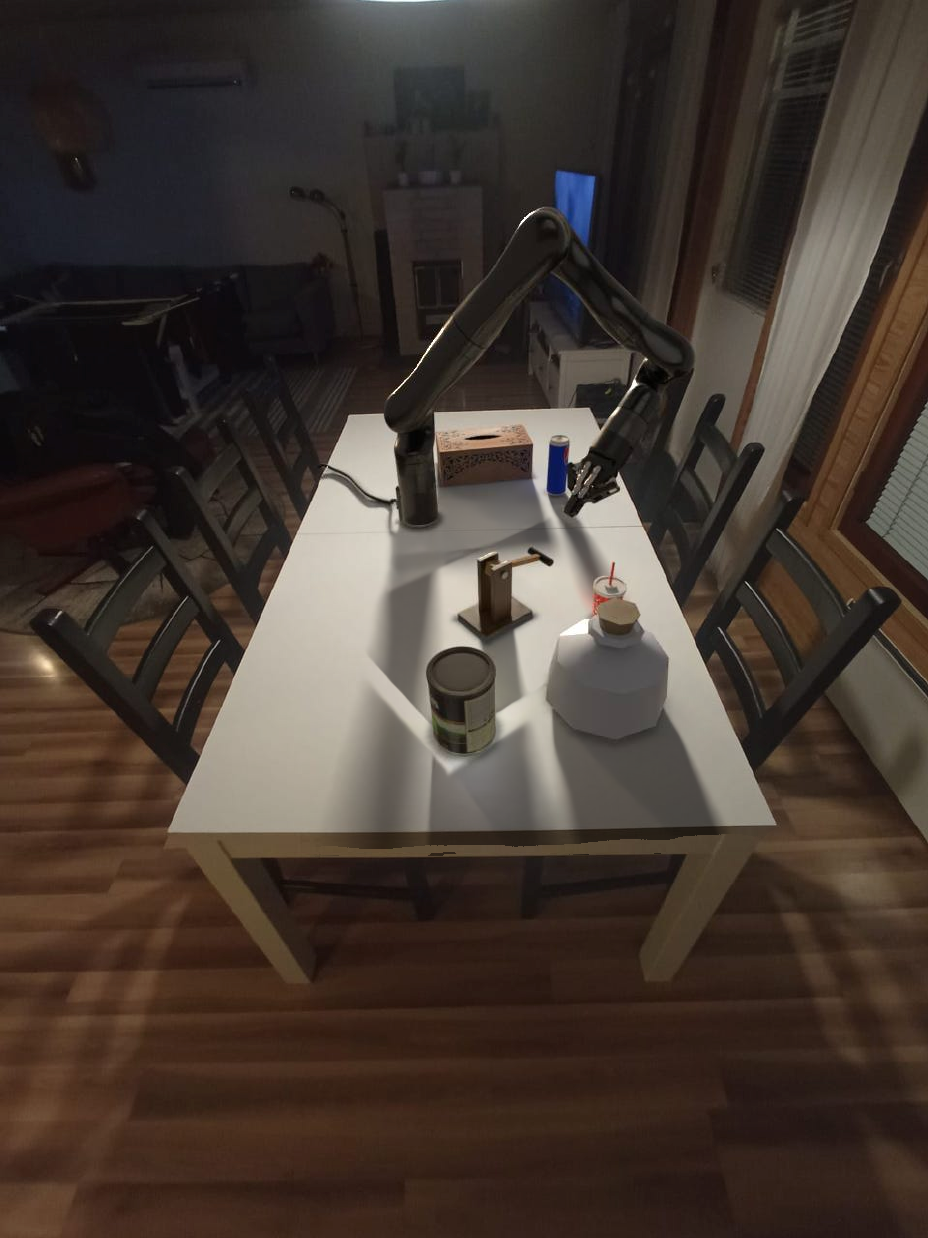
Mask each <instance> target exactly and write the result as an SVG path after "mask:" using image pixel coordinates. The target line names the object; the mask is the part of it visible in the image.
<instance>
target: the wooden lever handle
mask: <svg viewBox="0 0 928 1238" xmlns="http://www.w3.org/2000/svg"><path fill="white" fill-rule="evenodd" d="M527 554H528V555H527V556H523V557H518V558H514V559H511V560H510V561H512V569H513V568H516V567H520V566H524V565H528V564H531V563H535V562H536V563H537V562H541V563H542V564H544V565H546V566H547V567H551V566H553V564H554V559H552V558H551V557H549V556H547V555H546V554H544V553H543V552H541V551H540V550H538V549H537V548H535V547H533V546H530V547H529V548H528V549H527ZM503 562H504V561H502V560H500V559H499V558H498V559H495V560H491V561H487V562H486V567H485V574H487V575H488V576H490V577H491V568H493V567H495V566H497V565H499V564H501V563H503Z"/></svg>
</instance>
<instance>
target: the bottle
mask: <svg viewBox="0 0 928 1238" xmlns="http://www.w3.org/2000/svg"><path fill="white" fill-rule="evenodd" d="M597 611H598V614H597V615H595V616H594V617H593V616H592V617H591V618H587V619H581V620H580V621H579V622H578V623H575V624H574V625H573V626H571V627H569V628H568V629H567V630H565V631H564V632H562V633H560V634H559V635H558V637H557V640H556V644H555V647H554V651H553V654H552V658H551V660H550V663H549V667H548V671H547V682H546V683H547V684H546V693H545V701H546V702H547V704H549V705H550V707H552V708H553V710H555V711H556V713H557V714H558V715H559V716H560V717H561V718H562V719H563V720H564V721H565V722H566V724H568V726H569V727H570V728H571V729H573V730H575V731H578V732H582V733H585V734H590V735H595V736H598V737H602V738H607V739H610V740H619V739H622V738H625V737H628V736H631V735H633V734H636V733H640V732H642V731H645V730H648V729H651V728H654V727H656V726H657V723H658V721H659V718H660V715H661V713H662V710H663V708H664V706H665V703H666V700H667V698H668V686H669V685H668V683H669V663H670V657H669V656H668V654H667V652H666V651H665V650H664V648H663V646H662V645H661V644H660V642H659V641H658V639H657V638H656V636H655V635H654V633H653V632H652V631H649V630H647V629H644V628H643V626H642V625H641V623H640V621H639V619H640V617H641V613H640V610H639V608H638V606H637V604H636V603H635V602H632V601H629V600H626V599H623V600H622V599H619V598H613V599H610V600H608V601H606V602H604V603H601V604H599V605H597Z"/></svg>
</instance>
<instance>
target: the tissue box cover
mask: <svg viewBox="0 0 928 1238" xmlns="http://www.w3.org/2000/svg"><path fill="white" fill-rule="evenodd" d="M435 445H436V447H435V448H436V458H437V460H436V461H437V468H438V473H439V479H440V482H441V483H440V484H441V486H442V487H445V486H447V487H448V486H455V485H456V486H458V485H467V484H478V483H489V482H490V483H491V482H500V481H509V480H510V481H511V480H522V479H531V478H533V460H534V459H533V458H534V442H533V441H532V438H531V436H530V435H529V433H528V432H527V429H526V428H525V425H524V423H522V424H521V423H520V424H507V425H498V426H487V427H486V426H485V427H476V428H474V427H473V428H466V429H465V428H464V429H451V430H441V431H439V430H438V431H435Z"/></svg>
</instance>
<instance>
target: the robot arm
mask: <svg viewBox="0 0 928 1238" xmlns="http://www.w3.org/2000/svg"><path fill="white" fill-rule="evenodd" d="M550 273H551V274H552V275H554V276H555V277H557V278H558V279H559V280H561V281H562V282H563V283H564V284H565V285H566V286H568V287H569V289H571V291H572V292H573V293H574V294H575V295H576V296H577V297H578V299H579V300H580V301H581V302H582V304H583V305H584V306H585V308H586V309H587V310H588V312H589V313H590V314H591V316H592V317H593V319H595V321H596V322H597V324H598V325H599V326H600V327H601V328H602V329H603V331H605V332H606V333H607V334H608V335H609V336H610V337H611V338H612V339H613V340H614V341H616V342H617V343H618V345H620V346H621V347H622V348H623V349H624V350H625V351H627V352H629V353H638V354H640V355H642V356H643V357H644V359H643V361H642V362H641V363H640V366H639V367H638V369H637V371H636V374H635V376H634V378H633V380H632V383H631V386H630V387H629V389H628V390H627V392H626V393H625V394H624V396H623V398H622V399H621V401H620V402H619V403H618V405H617V407H616V408H615V409H614V411H613V412H612V413H611V414H610V416H609V417H608V418H607V420H606V421H605V422H604V424H603V426H602V427H601V429H600V430H599V432H598V434H597V435H596V437H595V438H594V439H593V441H592V443H591V444H590V446H589V447H588V452H587V454H586V455H585V456H583V457H582V458H581V460H580V461H578V462H575V463H573V462H572V461H568V464H567V481H566V489H568V490H569V492H570V497H569V498H568V500H567V501H566V503H565V504H564V506H563V511H562V513H563V514H564V515H565V516H567V517H568V518H571V519H574V517H577V516H578V515H579V514H580V512H581V511H582V509H583V507H584V505H585V504H587V503H591V504H593V505H595V504H597V503H599V502H601V501H603V500H605V499H607V498H609V497H612V496H613V495H615V494H617V493H619V492H621V487H620V486H619V484H618V482H617V478H618V476H619V471H620V470H621V469H623V468H624V466H625V464H626V463H627V461H628V460H629V459H630V457H631V455H632V454H633V453H634V451H635V449H636V448H637V447H638V445H639V443H640V442H641V440H643V437H644V435H645V433H646V431H647V430H648V428H649V427H650V425H651V424H652V421H654V419H655V417H656V415H657V414H658V412H659V411H660V409H661V407H662V405H663V397H662V396H663V394H664V393H665V391H666V390H667V387H668V386H669V385H670V384H671V382H674V381H677V380H680V379H682V378H684V377H686V376H687V375H689V374H690V373H691V371H692V370H693V368H694V366H695V363H696V352H695V349H694V347H693V345H692V343H691V342H690V340H688V338H687V337H686V336H684V335H683V334H682V333H681V332H679V331H677V330H676V329H674V328H673V327H671V326H669V325H668V324H666V323H665V322H663V321H661V320H659V319H658V318H656V317H655V316H653V314H652V313H651V312H650V311H649V310H648V309H647V308H646V307H645V306H644V305H643V304H642V303H641V302H640V301H639V300H638V299H637V298H636V297H635V296H633V294H632V293H631V292H629V291H628V290H627V289H626V287H624V286H623V285H622V284H621V283H620V282H619V281H618V280H617V279H616V278H615V277H614V276H612V274H611V273H610V272H608V270H607V269H606V268H604V266H603V265H602V264H601V263H600V262H599V260H598V259H596V257H595V256H594V255H593V254H592V252H591V251H590V250H589V248H588V247H587V246H586V245H585V243H584V242H583V241H582V239H581V238H580V237H579V235H578V234H577V232H576V231H575V229H574V227H573V226H572V225H571V223H570V222H569V221H568V219H567V217H566V215H565V214H564V213H563V212H562V211H561V210H559V209H557V208H556V207H552V206H543V207H539V208H537V209H535V210H533V211H532V212H530V213H529V214H528V215H527V216H526V217H524V219H523V220H522V221H521V222H520V224H519V225H518V227H517V228H516V230H515V232H514V234H513V236H512V237H511V239H510V241H509V242H508V244H507V246H506V247H505V249H504V251H503V252H502V253H501V255H500V256H499V258H498V259H497V261H496V263H495V264H494V266H493V267H492V269H491V270H490V271H489V273H488V274H487V275H486V277H484V279H482V281H481V282H480V283H479V284H478V285H477V286H475V288H473V290H472V291H471V292H470V293H469V294H468V295H467V296H465V298H464V299H463V300H462V302H461V303H460V304H459V305H458V306H457V307H456V309H455V310H454V311H453V313H452V314H451V315H450V317H449V318H448V319H447V320H446V321H445V323H444V324H443V326H442V327H441V328H440V330H439V332H437V335H436V336H435V337H434V339H433V340H432V342H431V343H430V344H429V346H428V347H427V349H426V351H425V353H424V354H423V356H422V358H421V359H420V361H419V363H418V364H417V366H416V367H415V369H414V370H413V371H412V372H411V373H410V374H409V376H408V377H407V378H406V379H405V380H404V381H403V382H402V383H401V384H400V385H399V386H398V387H397V388H396V389H395V390H394V391H392V393H391V394H390V395H389V396H388V397H387V398H386V399H385V402H384V407H383V419H384V421H385V424H386V425H387V427H388V429H389V430H390V431H392V432H394V433H395V434H396V439H395V442H394V446H393V455H394V461H395V469H396V476H397V484H398V485H397V486H395V495H396V498H391V499H389V500H388V499H383V498H380V497H377V496H375V495H373V494H370V492H368V491H366V490H365V489H364V488H363V487H362V486H361V485H360V484H359V483H358V482H357V481H356V480H355V478H354V477H353V476H351V475H350V474H348V473H347V472H345V471H343V470H341V469H338V468H336V467H334V466H331V465H329V464H327V463H324V462H321V463H319V464H318V465H317V468H318V469H321V468H322V467H325V468H327V466H328V468H327V469H328V470H330V471H333V472H335V473H338V474H340V475H342V476H344V477H346V478H347V479H349V480H350V481H351V482H352V484H353V485H354V486H355V487H356V488H357V490H359V491H360V493H362V494H363V495H364V496H365V497H366V498H369V499H371V500H374V501H376V502H377V503H383V504H386V505H393V504H394V503H395V505H396V510H397V512H398V518H399V522H400V523H402V524H403V525H404V526H405V527H407V528H410V529H415V530H423V529H428V528H431V527H433V526H435V525H436V524H437V523H438V522H439V520H440V513H439V502H438V492H437V491H438V490H437V480H436V479H437V478H436V466H435V452H434V448H435V447H434V446H435V443H436V434H435V432H436V422H435V421H436V420H435V419H436V418H435V408H434V407H435V404H436V403H437V401H438V400H439V398H440V397H441V396H442V395H443V394H444V393H445V392H446V391H447V390H448V389H449V388H450V387H452V386H453V385H454V384H455V383H456V382H457V381H458V380H459V379H461V377H462V376H464V375H465V374H466V373H467V372H468V371H469V370H470V369H471V368H472V366H474V365H475V363H476V362H477V361H478V360H479V359H480V358H481V357H482V356H483V355H484V353H485V352H487V350H488V349H489V347H490V346H491V345H492V344H493V342H494V341H495V339H496V338H497V337H498V336H499V334H500V333H501V332H502V330H503V328H504V327H505V325H506V324H507V322H508V321H509V319H510V317H511V315H512V314H513V313H514V311H515V310H516V308H517V307H518V306H519V304H520V303H521V302H522V301H523V300H524V299H525V297H527V296H528V294H530V293H531V291H532V290H534V289H535V287H537V286H538V284H540V282H542V281H543V280H544V279H545V278H546V277H547V276H548V275H549V274H550Z"/></svg>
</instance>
